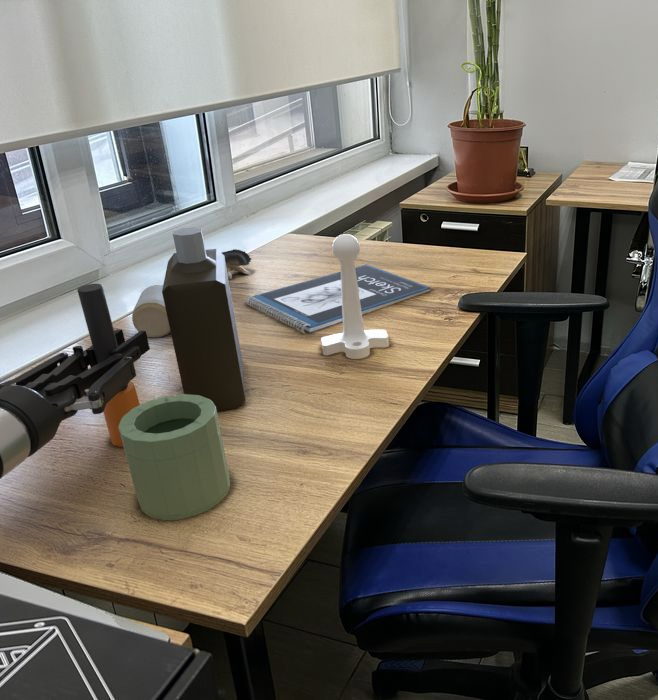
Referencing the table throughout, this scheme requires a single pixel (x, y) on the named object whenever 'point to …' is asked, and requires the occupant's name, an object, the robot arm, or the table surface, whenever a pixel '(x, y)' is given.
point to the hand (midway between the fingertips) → (133, 339)
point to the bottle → (203, 321)
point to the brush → (106, 354)
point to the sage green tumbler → (175, 456)
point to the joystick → (351, 308)
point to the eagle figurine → (236, 261)
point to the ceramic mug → (151, 313)
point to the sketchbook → (334, 298)
